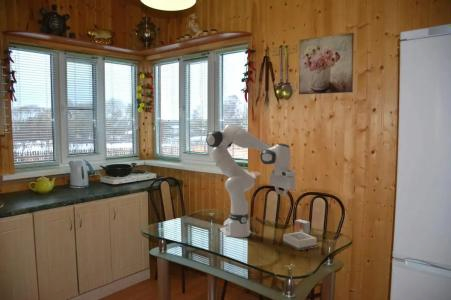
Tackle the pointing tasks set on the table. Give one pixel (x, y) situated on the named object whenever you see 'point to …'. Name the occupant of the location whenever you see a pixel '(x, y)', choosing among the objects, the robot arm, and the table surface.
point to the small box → (302, 226)
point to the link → (293, 240)
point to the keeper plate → (299, 239)
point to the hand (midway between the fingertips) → (281, 195)
